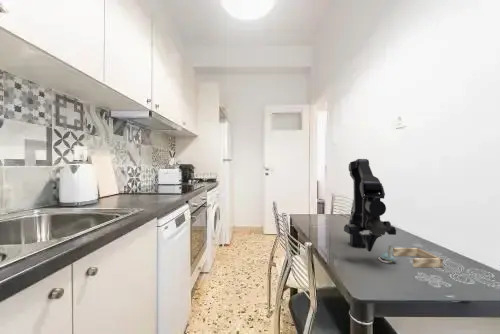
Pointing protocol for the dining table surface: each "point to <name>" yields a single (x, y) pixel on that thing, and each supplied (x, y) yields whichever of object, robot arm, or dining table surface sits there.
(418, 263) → the box
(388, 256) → the pacifier
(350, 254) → the dining table surface
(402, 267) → the dining table surface
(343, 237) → the dining table surface
